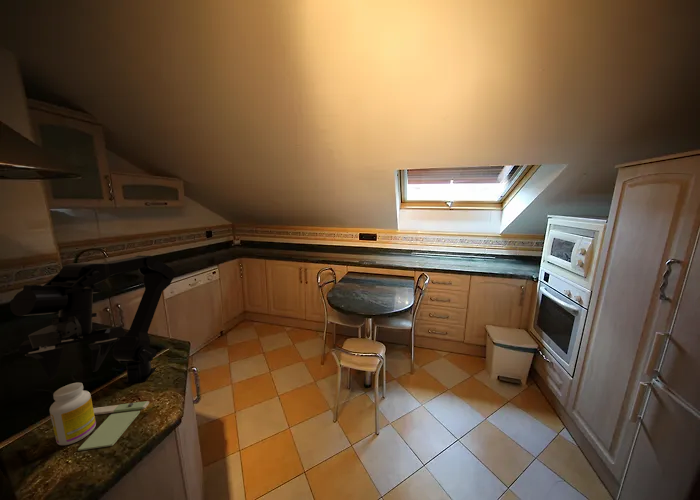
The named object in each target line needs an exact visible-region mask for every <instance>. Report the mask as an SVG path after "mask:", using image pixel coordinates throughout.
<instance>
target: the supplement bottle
mask: <svg viewBox="0 0 700 500" xmlns="http://www.w3.org/2000/svg"><path fill="white" fill-rule="evenodd" d="M52 395H53V400H54V402H53V403H51V405H50V407H49V415H50V419H51V424H52V427H53V433H54V438H55V441H56V444H57V445H59V446H68V445H71V444H75V443H77V442H79V441H81V440H82V439H84V438H86V437H87V436H88V435H90V434H91V433H93V432H94V430H95V428H96V426H97V421H96V416H95V415H94V410H93V408H94V407H93V401H92V400H93V399H92V396H91V395H92V394H91V393H90V392H89V391H88V390H84V385H83V383H82V382H73V383H69V384H67V385H65V386H62V387H60V388H58V389H57V390H55V391H54V392H53V394H52Z"/></svg>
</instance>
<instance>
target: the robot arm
mask: <svg viewBox="0 0 700 500" xmlns="http://www.w3.org/2000/svg"><path fill="white" fill-rule="evenodd" d="M137 270H138V273H139V274H140V275H141V276H143V280H142V282H143V286H144V290H143V291H144V292H143V294H142V296H141V299H140V302H139V304H138V307H137V310H136V312H135V315H134V317H133V320H132V321H131V325H130V328H129V329H128V331H127V332H126V333H125V329H124V328H123V327H122V326H121V325H120V326H113V327H108V328H102V329H97V328H93V318H96V317H97V316H98V315H97V314H98V313H96V312H93V302H94V300H93V299H94V298H93V294H99V293H102V291H103V290H102V289H101V288H99V287H97V286H96V285H97V284H100V283H103V281H106V280H107V279H109V277H112V276H114V275H115V276H116V275H119V274H123V273H124V274H125V273H128V272H131V271H137ZM174 277H175V271H174V269H173V268H172V267H171V266H169V265H167V264H166V263H164V262H161V261H159V260H158V259H156V258H155V257H154V256H151V255H136V256H132V257H127V258H121V259H115V260H110V261H104V262H76V263H74V262H72V263H67V264H64V265H63V266H62V267H61V269H60V270H59V272H58V273H56V274H55V275H54V276H53V277H51V279H50V280H48V281H47V282H46V283H45V284H44V285H41V284H25V285H23V288H22V289H21V291H19V292H17V293H16V294H15V295H14V297H13V298H12V299H11V300H10V303H9V309H10V311H11V313H12V314H13V315H14V316H16V317H17V316H18V317H25V316H27V317H28V316H38V315H39V316H40V315H49V314H56V313H58V317H57V316H56V317H53V319H52V320H51V324H50V325H47V326H46V327H43V328H40V329H39V330H36V331H34V332H32V333H30V334H28V336H27V337H28V339H29V340H24V341H23V342H22V343H21V344H19V346H18V354H20V355H21V354H24V356H26V357H32V358H33V359H36V360H37V361H38V362H39V364H40V366H41V367H42V369H43V371H44V373H45V374H46V377H47V378H48V380H53V379H56V377H57V374H58V371H59V368H60V363H61V358H62V355H63V351H64V350H63V349H64V347H63V346H62V345H68V344H69V345H70V344H74V343H81V342H82V343H83V342H88V341H89V342H91V343H90V344H87V346H88V348H89V349H90V350H91V369H92V372H94V373H95V372H97V371H99V369H100V368H101V366H102V364H103V362H104V360H105V358H106V356H107V354H108V353H109V351H110V350H112V357H113V359H114V360H115V361H118V362H119V364H126V375H127V377H126V379H124V380H123V384H131V383H139V382H141V383H142V382H146V381H147V380H148V379H149V378H150V377H151V376H152V375H153V374H154V373H155V371H156V370H157V367H152V364H151V361H153V360H154V358H155V357H156V356H157V351H158V349H156V348H153V347H150V343H151V339H150V336H149V333H148V332H149V329H150V327H151V324H152V322H153V318H154V315H155V313H156V310H157V308H158V304H159V302H160V299H161V296H162V293H164V291H165V290H167V288H168V287H169V286H170V285H171V283H172V282H173V280H174ZM69 338H71V339H69ZM113 345H114V346H113ZM60 346H62V347H60ZM155 369H156V370H155ZM152 373H153V374H152ZM151 374H152V375H151ZM150 375H151V376H150Z"/></svg>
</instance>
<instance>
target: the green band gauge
mask: <svg viewBox="0 0 700 500" xmlns="http://www.w3.org/2000/svg"><path fill="white" fill-rule="evenodd" d="M149 404H150V400H149V401H139V402H138V401H137V402H128V403H120V404H116V405H115V404H114V405H108V406H107V405H106V406H101V407H93V410H94V415H96V416H97V415H104V414H105V415H106V414H110V415H108V417H107V418H106V419H105V420H104V421H103V422H102V423H101V424H100V425H99V426H98V427H97V428H96V429H95V431H93V432H92V434H91V435H90V436H89V437H87V439H86V440H85V441H84V442H83V443H82V444H81V445H80V446H79V447H78V449H77V451H78V452H79V451H86V450H91V449H98V448H105V447H106V448H107V447H112V446H114V444H115V443H116V442H117V441H118V440H119V439H120V437H122V435H123V434H124V433H125V432H126V430H127V429H128V428H129V426H130V425H131V424H132V423H133V422H134V420H135V419H136V418H137V416H138V415H139V414H140V413H141V410H145V409H146V408H147V407H148V406H149Z"/></svg>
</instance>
